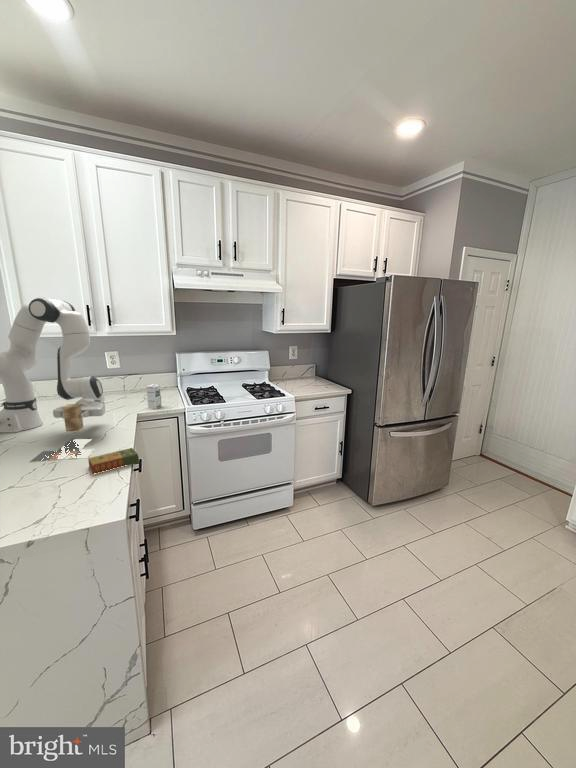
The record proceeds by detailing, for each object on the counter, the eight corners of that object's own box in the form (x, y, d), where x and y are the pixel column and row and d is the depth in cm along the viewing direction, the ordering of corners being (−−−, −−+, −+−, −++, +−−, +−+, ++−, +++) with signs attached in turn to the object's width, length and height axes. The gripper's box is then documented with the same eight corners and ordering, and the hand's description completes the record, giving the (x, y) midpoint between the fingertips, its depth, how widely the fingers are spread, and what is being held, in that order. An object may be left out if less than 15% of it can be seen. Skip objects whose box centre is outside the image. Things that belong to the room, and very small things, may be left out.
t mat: (29, 462, 125) (29, 461, 125) (57, 439, 147) (57, 439, 147) (87, 458, 129) (87, 457, 129) (107, 437, 151) (107, 436, 151)
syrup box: (156, 409, 195) (154, 386, 192) (147, 408, 196) (145, 385, 193) (161, 406, 200) (160, 384, 197) (153, 406, 202) (151, 383, 198)
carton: (89, 467, 122) (87, 457, 121) (133, 456, 132) (132, 446, 131) (93, 475, 116) (92, 465, 115) (139, 463, 126) (138, 453, 125)
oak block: (66, 431, 139) (62, 407, 136) (71, 427, 143) (68, 404, 141) (78, 430, 140) (75, 407, 137) (83, 426, 144) (80, 403, 142)
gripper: (60, 402, 150) (44, 410, 136) (107, 400, 154) (96, 409, 141) (62, 414, 151) (46, 424, 138) (108, 413, 155) (98, 422, 142)
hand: (72, 416), depth 139 cm, fingers closed on oak block, 5 cm apart
